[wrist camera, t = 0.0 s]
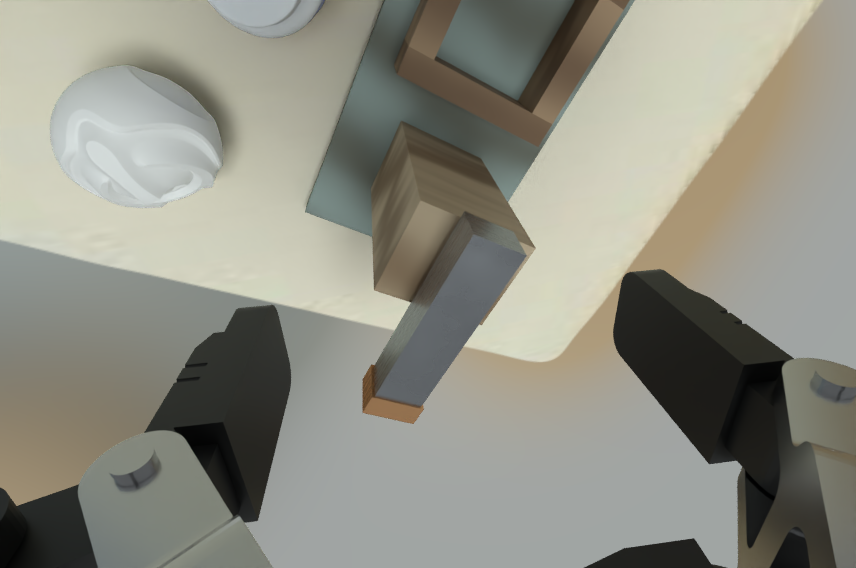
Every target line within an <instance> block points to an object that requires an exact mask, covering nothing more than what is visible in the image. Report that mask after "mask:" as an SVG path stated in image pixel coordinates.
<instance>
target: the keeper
mask: <svg viewBox="0 0 856 568" xmlns="http://www.w3.org/2000/svg"><path fill="white" fill-rule="evenodd" d="M526 256H527V255H526V253H525V251H524V250H523V248H522V246H521V244H520V242H519V241H518V239H517V237H516V235H515V234H514V232H513V231H510V230H508V229H506V228H503V227H501V226H499V225H496V224H494V223H492V222H489V221H487V220H484V219H482V218H480V217H477V216H475V215H473V214H470V213H468V212H466V211H464V213H463V214H462V216H461V218H460V219H459V221H458V223H457V225H456V226H455V228H454V230H453V231H452V233H451V235H450V237H449V238H448V240H447V242H446V243H445V245H444V247H443V249H442V250H441V252H440V254H439V256H438V257H437V259H436V261H435V262H434V264H433V266H432V268H431V269H430V271H429V273H428V274H427V276H426V278H425V280H424V281H423V283H422V285H421V287H420V288H419V290H418V292H417V293H416V295H415V297H414V299H413V300H412V302H411V304H410V305H409V307H408V309H407V311H406V312H405V314H404V316H403V318H402V319H401V321H400V323H399V324H398V326H397V328H396V330H395V331H394V333H393V335H392V336H391V338H390V340H389V342H388V343H387V345H386V347H385V348H384V351H383V352H382V354H381V355H380V357H379V359H378V361H377V362H376V364H375V365H371V366H370V368H369V369H368V371H367V373H366V375H365V376H364V378H363V413H366V414H370V415H375V416H380V417H384V418H388V419H393V420H398V421H402V422H407V423H412V424H414V422H415V421H416V420H417V418H418V417H419V415H420V414H421V412H422V411H423V410H424V409H423V403H424V402H425V401H426V399H427V398H428V396H429V395H430V393H431V392H432V391H433V389H434V388H435V386H436V385H437V383H438V382H439V381H440V379H441V378H442V376H443V375H444V373H445V372H446V371H447V369H448V368H449V366H450V365H451V363H452V362H453V361H454V359H455V358H456V356H457V355H458V353H459V352H460V351H461V349H462V348H463V346H464V345H465V344H466V342H467V341H468V339H469V338H470V336H471V335H472V334H473V332H474V331H475V329H476V328H477V326H478V325H479V324H480V322H481V321H482V319H483V318H484V316H485V315H486V314H487V312H488V311H489V309H490V308H491V306H492V305H493V304H494V302H495V301H496V299H497V298H498V296H499V295H500V294H501V292H502V291H503V289H504V288H505V286H506V285H507V284H508V282H509V281H510V279H511V278H512V276H513V275H514V274H515V272H516V271H517V269H518V268H519V266H520V265H521V264H522V262H523V261H524V259H525V258H526Z"/></svg>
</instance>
